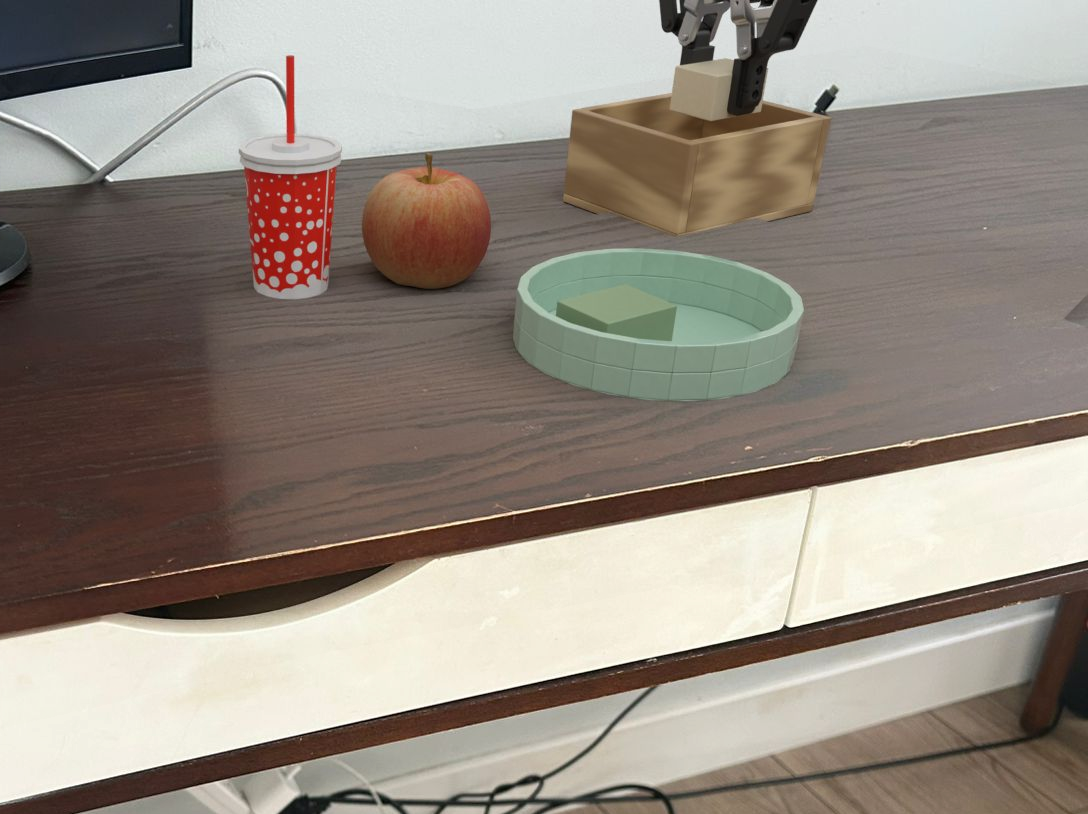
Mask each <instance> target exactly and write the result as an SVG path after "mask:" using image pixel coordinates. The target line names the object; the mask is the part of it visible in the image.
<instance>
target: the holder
mask: <svg viewBox="0 0 1088 814" xmlns="http://www.w3.org/2000/svg"><path fill="white" fill-rule="evenodd" d="M671 95H672V92H668V93H663V94H657V95H652V96H651V95H650V96H644V97H640V98H633V99H626V100H621V101H616V102H610V103H603V104H598V105H592V106H586V107H585V106H584V107H581V108H575V109H574V108H573V109H572V111H571V119H570V130H569V138H568V149H567V159H566V170H565V178H564V179H565V180H564V188H563V195H562V196H563V198H562V202H563V203H566V204H568V205H572V206H574V207H577V208H580V209H583V210H585V211H589V212H590V213H593V214H595V215H600V214H604V213H610V214H613V215H616V216H619V217H621V218H623V219H626V220H629V221H632V222H635V223H637V224H640V225H643V226H646V227H648V228H652V229H654V230H657V231H660V232H662V233H665V234H668V235H671V236H673V237H677V238H679V237H682V236H687V235H691V234H696V233H700V232H704V231H708V230H713V229H717V228H721V227H722V228H723V227H726V226H730V225H735V224H738V223H739V224H740V223H743V222H747V221H751V220H756V219H758V220H762V221H765V222H771V221H775V220H779V219H784V218H788V217H792V216H797V215H800V214H805V213H809V212H813V210H814V205H815V200H816V194H817V190H818V185H819V181H820V175H821V170H822V165H823V159H824V154H825V151H826V146H827V145H826V144H827V140H828V136H829V130H830V126H831V120H832V117H831V116H827V115H823V114H819V113H816V112H812V111H807V110H804V109H799V108H795V107H791V106H787V105H783V104H780V103H775V102H771V101H767V100H763V102H762V108H761V112H758V113H753V114H747V115H742V116H737V117H731V118H726V119H720V120H715V121H708V120H704V119H700V118H697V117H693V116H690V115H686V114H682V113H679V112H675V111H671V110H670V102H671Z"/></svg>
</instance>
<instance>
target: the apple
mask: <svg viewBox="0 0 1088 814" xmlns="http://www.w3.org/2000/svg"><path fill="white" fill-rule="evenodd" d="M424 159H425V161H426V166H418V167H413V168H407V169H403V170H400V171H395V172H391V173H389V174H387V175H386V176H384V177H382V178H381V179H380V180H379V181H378V182H377V183H376V184H375V185H374V186H373V188H372V189H371V190H370V192H369V194H368V197H366V201H365V204H364V208H363V212H362V217H361V235H362V240H363V243H364V247H365V250H366V253H367V254H368V257H369V258H370V260H371V262H372V263H373V265H374V266H375V268H377V270H378V271H379V272H380V273H381V274H383V275H384V276H385V277H386V278H387V279H389V280H391V281H392V282H393V283H395V284H397V285H400V286H404V287H405V286H406V287H414V288H419V289H424V290H438V289H445V288H450V287H452V286H454V285H455V286H456V285H457V284H459V283H461V282H463V281H464V280H466V279H467V278H469V277H470V276H471V275H472V274H474V272H475V271H476V270H477V269H478V267H480V265H481V263H482V262H483V259H484V258H485V256H486V253H487V251H488V249H489V248H488V247H489V246H490V245H489V244H490V241H491V234H492V217H491V211H490V208H489V204H488V201H487V199H486V197H485V195H484V192H483V191H482V190H481V188H480V187H479V185H477V184H476V182H474V181H473V180H472V179H470V178H468V177H466V176H465V175H461V174H458V173H457V172H454V171H451V170H446V169H442V168H437V167H433V166H432V165H433V154H432V153H430V152H426V153H425V154H424Z"/></svg>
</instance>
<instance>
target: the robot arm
mask: <svg viewBox="0 0 1088 814" xmlns="http://www.w3.org/2000/svg"><path fill="white" fill-rule="evenodd" d="M818 1H819V0H678V1H677V0H658V3H659V12H660V13H659V14H660V25H661V29H662V32H663V33H666V34H669V33H672V34H673V35H674V36H675V37H677V40H678V43H679V45H680V46H681V52H680V60H679V66H680V65H686V64H693V63H699V62H706V61H712V60H714V55H715V48H716V46H715V45H711V44H710V43H712V42H713V41H714V40H715V38H716V35H717V32H718V29H719V26H720V24H721V20H722V18H723V15H724V14H725V13H727V11H728V10H729V11H730V20H731V22H732V23H733V24H734V25H735V35H736V54H737V57H738V58H734V59H733V60H734V64H733V70H732V81H731V87H730V93H729V99H728V105H727V112H728V114H731V115H735V116H740V115H745V114H751V113H752V112H753V111H754V110H755V108H756V106H758V105H759V103H760V101H761V99H762V93H763V91H762V90H763V87H764V81H765V76H766V70H767V68H768V63H769V61H770V59H771V57H772V56H774V55H776V54H779V53H783V52H789V51H793V50H795V49H796V48H797V46H798V44H799V41H800V39H801V37H802V35H803V33H804V31H805V29H806V27H807V24H808V23H809V20H810V19H811V16H812V14H813V11H814V9H815V7H816V5H817V3H818ZM678 2H679V12H678ZM757 3H759V6H758V7H753V6H752V5H751V4H757Z"/></svg>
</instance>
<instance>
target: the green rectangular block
mask: <svg viewBox="0 0 1088 814" xmlns="http://www.w3.org/2000/svg"><path fill="white" fill-rule="evenodd" d="M676 310H677V305H675V304H672V303H670V302H667V301H665V300H662V299H660V298H658V297H655V296H653V295H650V294H648V293H646V292H643V291H641V290H638V289H636V288H633V287H631V286H629V285H626V284H625V285H621V286H617V287H612V288H608V289H604V290H600V291H596V292H592V293H588V294H584V295H580V296H576V297H572V298H568V299H564V300H560V301H557V310H556V316H557V317H559V318H561V319H563V320H565V321H567V322H570V323H572V324H576V325H579V326H582V327H586V328H589V329H593V330H596V331H599V332H604V333H609V334H615V335H621V336H626V337H632V338H637V339H648V340H660V341H672V337H673V330H674V324H675V317H676Z"/></svg>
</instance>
